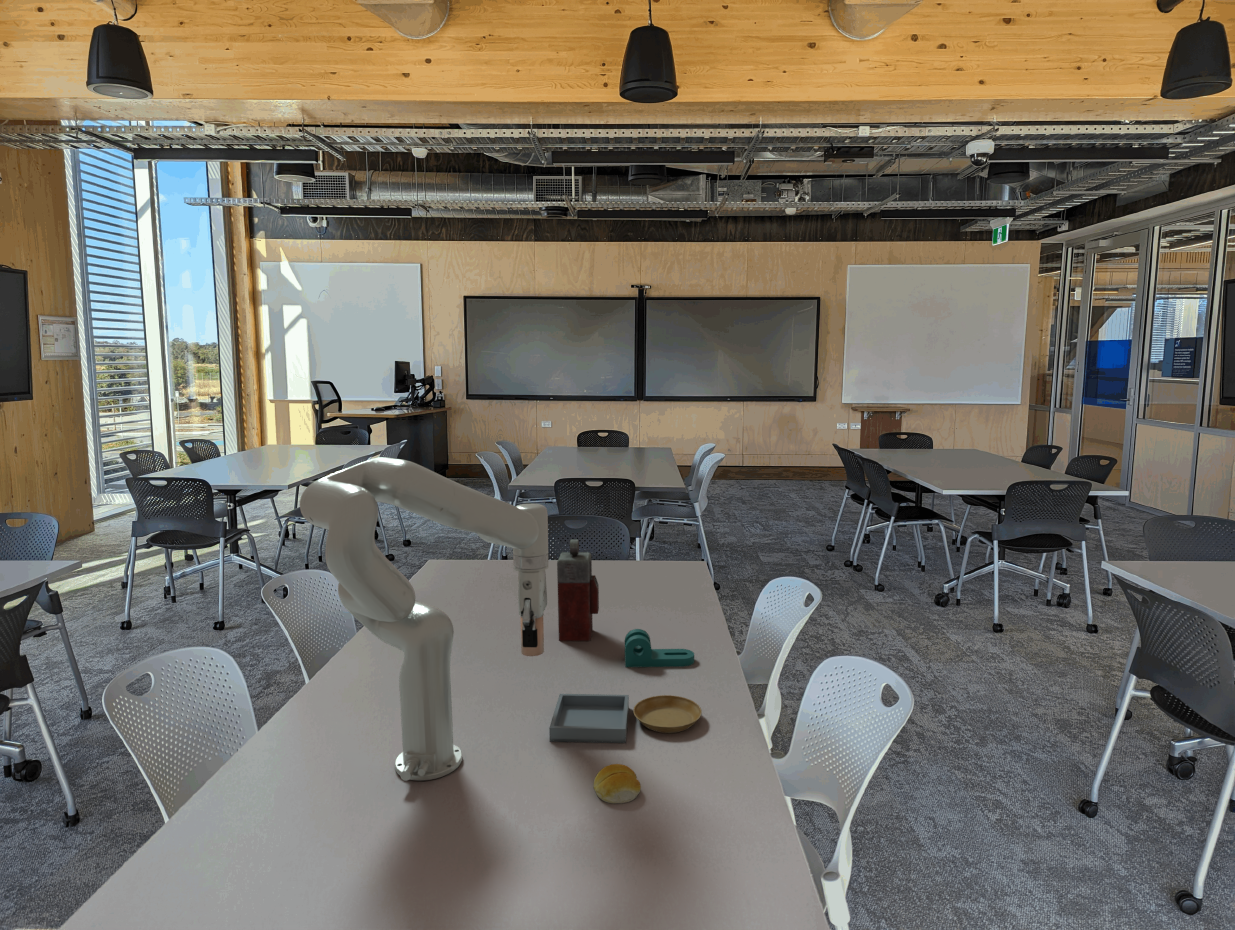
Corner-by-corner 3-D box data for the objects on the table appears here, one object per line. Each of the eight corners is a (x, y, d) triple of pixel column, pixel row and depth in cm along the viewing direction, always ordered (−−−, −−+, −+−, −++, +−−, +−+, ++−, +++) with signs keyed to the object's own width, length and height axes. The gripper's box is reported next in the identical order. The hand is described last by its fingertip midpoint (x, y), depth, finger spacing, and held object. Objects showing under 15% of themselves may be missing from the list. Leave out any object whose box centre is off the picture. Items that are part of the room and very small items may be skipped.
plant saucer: (644, 743, 148) (644, 730, 147) (625, 710, 162) (625, 699, 162) (712, 733, 152) (712, 721, 151) (687, 702, 166) (687, 691, 165)
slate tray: (625, 742, 147) (625, 729, 147) (549, 741, 148) (549, 727, 148) (628, 707, 163) (628, 694, 162) (559, 706, 164) (559, 693, 163)
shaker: (542, 656, 156) (541, 611, 155) (518, 656, 157) (517, 611, 156) (545, 647, 162) (545, 604, 160) (523, 647, 162) (522, 604, 161)
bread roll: (632, 774, 136) (632, 754, 136) (644, 801, 128) (644, 780, 127) (589, 780, 135) (589, 759, 134) (598, 808, 126) (598, 786, 125)
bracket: (625, 667, 185) (625, 638, 184) (624, 657, 192) (624, 628, 191) (695, 667, 185) (695, 637, 184) (692, 656, 192) (692, 628, 191)
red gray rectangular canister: (598, 641, 203) (597, 543, 199) (558, 640, 203) (556, 543, 200) (600, 629, 212) (599, 536, 208) (562, 629, 212) (560, 536, 208)
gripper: (541, 572, 148) (543, 657, 150) (553, 551, 165) (554, 628, 167) (505, 571, 148) (507, 656, 151) (521, 551, 165) (522, 628, 168)
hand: (532, 641), depth 159 cm, fingers closed on shaker, 5 cm apart
